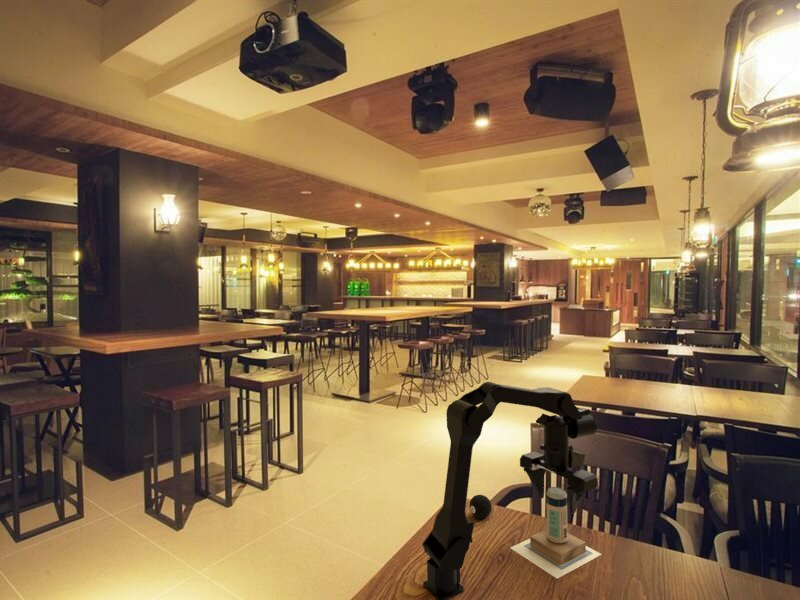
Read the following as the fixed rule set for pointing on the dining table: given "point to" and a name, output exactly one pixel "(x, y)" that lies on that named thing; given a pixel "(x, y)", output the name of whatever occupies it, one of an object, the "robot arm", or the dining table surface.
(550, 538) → the beer can
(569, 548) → the base block
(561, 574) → the white flat square slab
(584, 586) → the dining table surface
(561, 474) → the robot arm
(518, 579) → the dining table surface
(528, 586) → the dining table surface
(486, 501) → the billiard ball
